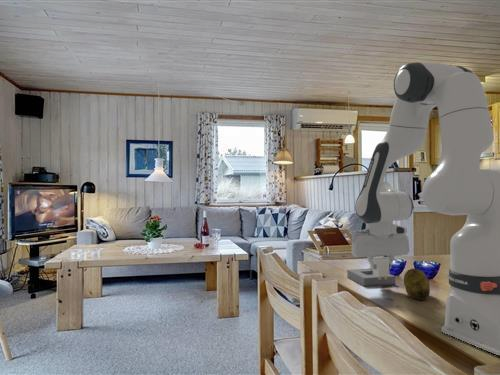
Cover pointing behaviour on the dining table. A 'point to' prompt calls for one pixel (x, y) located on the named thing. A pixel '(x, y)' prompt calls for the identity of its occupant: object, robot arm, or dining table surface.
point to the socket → (369, 278)
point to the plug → (381, 267)
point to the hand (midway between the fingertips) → (380, 268)
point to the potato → (416, 284)
